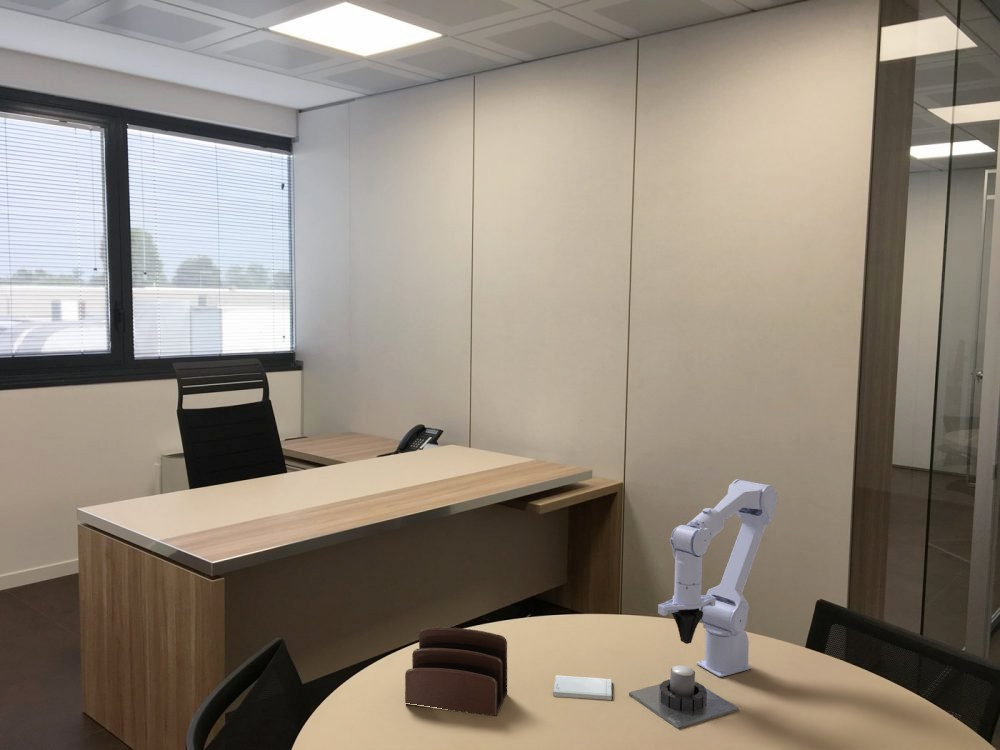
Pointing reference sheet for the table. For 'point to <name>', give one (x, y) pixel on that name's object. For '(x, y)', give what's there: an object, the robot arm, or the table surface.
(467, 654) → the letter holder
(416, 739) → the table surface
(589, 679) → the hard drive
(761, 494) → the robot arm
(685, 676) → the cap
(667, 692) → the flat grey square plate
